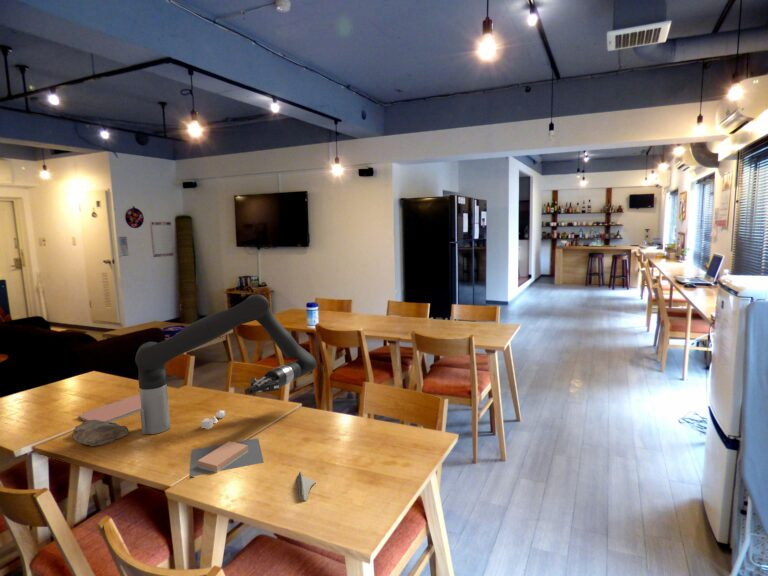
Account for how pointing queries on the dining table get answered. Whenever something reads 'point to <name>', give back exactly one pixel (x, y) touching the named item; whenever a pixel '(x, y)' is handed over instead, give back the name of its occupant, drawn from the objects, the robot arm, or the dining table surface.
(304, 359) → the robot arm
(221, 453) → the tile
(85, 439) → the grey rock
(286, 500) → the dining table surface
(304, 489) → the ceramic fragment
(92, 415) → the notebook
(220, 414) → the game pieces
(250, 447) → the mat
